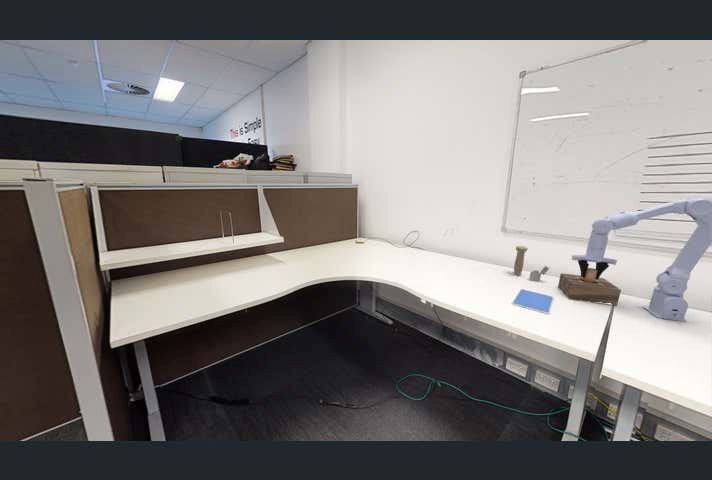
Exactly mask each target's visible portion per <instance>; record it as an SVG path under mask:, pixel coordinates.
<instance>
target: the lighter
mask: <svg viewBox="0 0 712 480" xmlns="http://www.w3.org/2000/svg"><path fill="white" fill-rule="evenodd" d="M549 269H550V267H549V266H547V265H544V267H543V268H542V269H541V270H540V271H539V270H535V269H534V270H533V271H530V275H529V281H531V282H541V277H542V275H543V276H544V275H545V274H546V273H547V272H548V271H549Z"/></svg>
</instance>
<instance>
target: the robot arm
mask: <svg viewBox="0 0 712 480" xmlns="http://www.w3.org/2000/svg"><path fill="white" fill-rule="evenodd" d="M667 214H677V215H679V214H680V215H684V214H685V215H687V216H689V217H690V218H692V220H693V221H694V222H695V224H696V225H697V227H696V228H695V230H694V231H693V232H692V234H691V235H690V237H689V239H688V240H687V242H686V243H685V244H684V246H683V248H682V249H681V250H680V252H679V253H678V255H677V256H676V258H674V261H673V262H672V263H671V265H670V266H668V267H667V268H666V269H665V270H664V271H663V272H661V273H659V274H658V275H657V276H656V283H657V284H658V285H657V286H655V287H654V288H653V290H652V295H651V297H650V301H649V304H648V305H642V308H643V309H645V310H646V311H647V312H649V313H650V314H652V315H653V316H655V317H657V318H658V319H664V320H665V319H666V320H672V321H679V322H684V323H685V322H687V320H686V319H685V316H686V315H687V314H686V313H687V311H688V307H689V304H688V302H687V300H685V299H684V293H685V292H686V291H687V289H688V281H689V280H690V277H691V274H692V273H691V272H692V271H693V269H694V268H695V267H696V265H698V263H699V261H700V260H701V259H702V257H703V256H704V255H705V253H706V251H708V249H709V248H710V246H711V244H712V199H711V198H708V197H701V196H693V197H689V198H686V199H679V200H674V201H673V200H672V201H669V202H666V203H663V204H660V205H657V206H653V207H651V208H647V209H644V210H640V211H636V212H634V211H631V210H628V211H625V210H622V211H620V213H617V214H614V215H611V216H608V215H606V216H604V218H598V219H596V220H595V221H594V222H593V223H592V224H591V228H592V230H591V231H590V236H589V239H588V243H587V248H586V253H585V255H581V254H580V255H579V254H578V255H577V254H572V255H571V260H573V261H577V263H578V266H579V271H580V276H581V277H582V278H585V276H586V271H587V268H589V266H590V263H595V269H596V270H598V271H597V275H596V279H597V280H598V278H601V275H602V274H603V273H604V272H605V271H606V270H607V269H608V268H609V264H610V265H615V266H616V265H617V262H618V260H617V259H615V258H609V257H604V256H605V254H606V248H607V245H608V241H609V233H610V232H611V231H616V230H621V229H625V228H627V227H633V226H636V225H637V224H638V222H640V221H642V220H646V219H650V218H655V217H658V216H663V215H667Z"/></svg>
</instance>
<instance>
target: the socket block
mask: <svg viewBox="0 0 712 480" xmlns="http://www.w3.org/2000/svg"><path fill="white" fill-rule="evenodd" d="M582 280H583V278H582V277H581V274H580V275H578V274H570V273H561V272H560V275H559V281H558V285H557V288H558V289H559V290H560V291H561V292H562V293H563V294H564V295H565V296H566V298H568V299H569V300H575V301H580V300H582V302H587V301H590V302H589V303H594V302H602V303H611V304H612V305H611V306H615V307H617V306H618V304H619V301H620V300H619V299H620V296H621V292H622V289H620V288H619V287H617V286H616V285H614V284H612V283H611V282H610V281H608V280H607V279H605V278H603V277H599V278H598V280H597V279H595V283H587V282H583V281H582Z"/></svg>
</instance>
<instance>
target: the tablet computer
mask: <svg viewBox="0 0 712 480" xmlns="http://www.w3.org/2000/svg"><path fill="white" fill-rule="evenodd" d="M554 300H555V298H554V296H551V295H547V294H543V293H540V292H537V291H536V292H535V291H531V290H526V289H519V291H518V293H516V296H515V298H514V299H513V300H512V302H511V305H513V306H517V307H519V308H524V309H527V310H531V311H532V312H533V311H534V312H537V313H541V314H545V315H550V314H551V309H552V307H553V303H554Z"/></svg>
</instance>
